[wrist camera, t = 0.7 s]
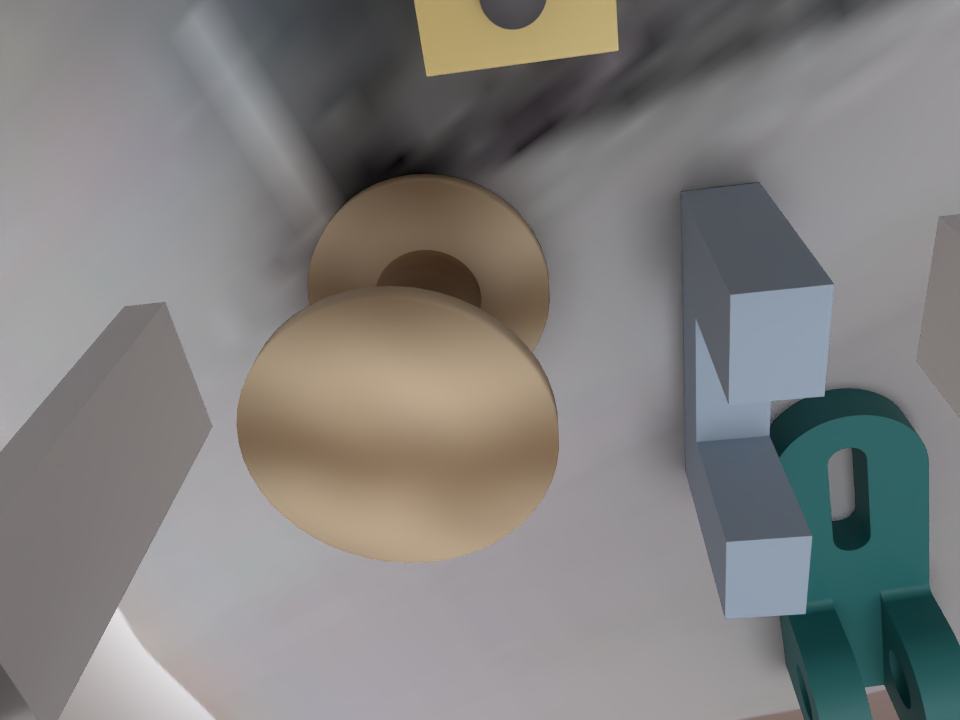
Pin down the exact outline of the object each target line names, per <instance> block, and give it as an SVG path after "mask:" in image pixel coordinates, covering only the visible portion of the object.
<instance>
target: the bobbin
mask: <svg viewBox="0 0 960 720" xmlns="http://www.w3.org/2000/svg"><path fill="white" fill-rule="evenodd" d="M308 297H309V302H310V305H309V306H307V307H306V308H304V309H302V310H301V311H299V312H298V313H296V314H295V315H293V316H292V317H290V318H289V319H288V320H287V321H286V322H285V323H284V324H282V325H281V326H280V327H279V328H278V329H277V330H276V331H275V332H274V334H273V335H272V336H271V337H270V338H269V339H268V341H267V342H266V343H265V345H264V347H263V348H262V350H261V351H260V353H259V355H258V356H257V358H256V360H255V362H254V364H253V366H252V368H251V369H250V371H249V373H248V375H247V378H246V380H245V383H244V385H243V388H242V390H241V394H240V399H239V403H238V408H237V432H238V440H239V445H240V449H241V452H242V456H243V459H244V461H245V464H246V466H247V468H248V471H249V473H250V475H251V477H252V478H253V480H254V482H255V483H256V485H257V486H258V488H259V490H260V491H261V492H262V493H263V495H264V496H265V497H266V498H267V500H268V501H269V502H270V503H271V504H272V505H273V506H274V507H275V508H276V509H277V510H278V511H279V512H280V513H281V514H282V515H283V516H284V517H285V518H286V519H288V520H289V521H290V522H291V523H293V524H294V525H295V526H297V527H298V528H299V529H301V530H303V531H304V532H306V533H307V534H309V535H311V536H312V537H314V538H316V539H318V540H320V541H322V542H324V543H326V544H328V545H330V546H332V547H335V548H337V549H340V550H343V551H345V552H348V553H351V554H355V555H358V556H362V557H366V558H370V559H376V560H382V561H390V562H403V563H415V562H432V561H440V560H446V559H450V558H455V557H459V556H463V555H466V554H469V553H472V552H475V551H478V550H480V549H482V548H484V547H487V546H489V545H491V544H493V543H495V542H497V541H498V540H500V539H502V538H503V537H505V536H506V535H508V534H510V533H511V532H512V531H513V530H515V529H516V528H517V527H518V526H519V525H521V524H522V523H523V522H524V521H525V520H526V519H527V518H528V517H529V516H530V515H531V514H532V512H533V511H534V510H535V509H536V508H537V506H538V505H539V503H540V502H541V500H542V499H543V498H544V496H545V494H546V492H547V490H548V488H549V486H550V484H551V482H552V479H553V476H554V472H555V469H556V466H557V459H558V452H559V433H558V417H557V409H556V403H555V398H554V394H553V391H552V389H551V386H550V383H549V380H548V378H547V376H546V374H545V372H544V370H543V368H542V367H541V365H540V363H539V361H538V360H537V359H536V357H535V356H534V354H533V353H532V351H533V350H534V348H535V347H536V345H537V343H538V342H539V340H540V337H541V335H542V333H543V330H544V328H545V324H546V320H547V316H548V310H549V301H550V299H549V277H548V271H547V265H546V261H545V258H544V255H543V252H542V249H541V246H540V244H539V242H538V240H537V238H536V236H535V234H534V233H533V231H532V230H531V228H530V227H529V225H528V224H527V223H526V221H525V220H524V219H523V218H522V217H521V216H520V215H519V213H518V212H517V211H516V210H515V209H514V208H513V207H511V206H510V205H509V204H508V203H507V202H505V201H504V200H503V199H502V198H500V197H499V196H497V195H495V194H494V193H492V192H491V191H489V190H487V189H485V188H483V187H481V186H479V185H477V184H475V183H472V182H469V181H466V180H463V179H460V178H455V177H450V176H445V175H437V174H412V175H405V176H400V177H394V178H391V179H388V180H385V181H382V182H379V183H376V184H374V185H372V186H370V187H368V188H366V189H364V190H363V191H361V192H360V193H358V194H357V195H355V196H354V197H352V198H351V199H350V200H349V201H348V202H346V203H345V204H344V205H343V206H342V207H341V208H340V209H339V210H338V211H337V213H336V214H335V215H334V216H333V217H332V219H331V220H330V222H329V223H328V225H327V227H326V228H325V230H324V232H323V233H322V235H321V237H320V239H319V241H318V243H317V246H316V248H315V250H314V253H313V255H312V259H311V263H310V267H309V275H308Z"/></svg>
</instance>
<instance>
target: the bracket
mask: <svg viewBox="0 0 960 720" xmlns="http://www.w3.org/2000/svg"><path fill="white" fill-rule="evenodd" d="M769 436H770V438H771V441H772V443H773V445H774V448H775V450H776V452H777V455H778V457H779V459H780V462H781V464H782V466H783V469H784V471H785V473H786V476H787V478H788V480H789V483H790V485H791V487H792V490H793V492H794V494H795V497H796V499H797V501H798V504H799V506H800V508H801V511H802V513H803V515H804V518H805V520H806V522H807V525H808V527H809V529H810V532H811V534H812V546H811V557H810V569H809V580H808V592H807V603H806V614H797V615H781V616H780V622H781V629H782V637H783V645H784V652H785V660H786V666H787V669H788V672H789V675H790V678H791V681H792V684H793V687H794V690H795V693H796V696H797V699H798V702H799V705H800V708H801V711H802V714H803V717H804V720H872V715H871V711H870V707H869V703H868V699H867V695H866V691H865V688H864V687H870V686H878V685H885V687H886V690H887V692H888V694H889V696H890V699H891V701H892V703H893V705H894V708H895V710H896V712H897V714H898V717H899V719H900V720H960V645H959V643H958V641H957V639H956V637H955V635H954V633H953V631H952V629H951V627H950V625H949V623H948V622H947V620H946V618H945V616H944V615H943V613H942V611H941V609H940V607H939V606H938V604H937V602H936V600H935V598H934V597H933V595H932V593H931V590H930V586H929V459H928V454H927V450H926V448H925V445H924V443H923V442H922V440H921V438H920V437H919V436H918V434H917V433H916V431H915V430H914V428H913V427H912V425H911V424H910V423H909V421H908V420H907V418H906V417H905V415H904V414H903V412H902V411H901V410H900V409H899V408H898V406H896V405H895V404H894V403H893V402H892V401H890V400H889V399H887V398H885V397H884V396H882V395H879V394H877V393H874V392H871V391H867V390H861V389H835V390H829V391H825V396H823V397H812V398H805V399H802V400H800V401H799V402H797V403H795V404H793V405H792V406H791V407H789V408H788V409H786V410H785V411H784V412H783V413H782V414H780V415H779V416H778V417H777V418H776V419H775V421H774V422H773V423H772V424H771V426H770V435H769ZM844 448H852V454H853V470H854V487H855V503H856V507H855V510H854V512H853V513H852V514H851V515H850V516H849V517H847V518H845V519H843V520H839V521H832V519H831V506H830V494H829V481H828V469H827V464H828V460H829V459H830V457H831V456H832V455H833V454H834V453H835V452H837V451H839V450H841V449H844Z"/></svg>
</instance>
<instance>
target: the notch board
mask: <svg viewBox="0 0 960 720" xmlns="http://www.w3.org/2000/svg"><path fill="white" fill-rule="evenodd" d="M681 214H682V276H683V339H684V401H685V463H686V475H687V478H688V482H689V486H690V490H691V493H692V497H693V501H694V504H695V508H696V512H697V516H698V519H699V523H700V527H701V531H702V534H703V538H704V542H705V546H706V549H707V553H708V557H709V561H710V564H711V568H712V572H713V575H714V579H715V583H716V587H717V590H718V594H719V598H720V602H721V605H722V609H723V613H724V617H725V619H732V618H748V617H764V616H781V615H797V614H806V603H807V592H808V580H809V569H810V557H811V546H812V534H811V532H810V529H809V527H808V525H807V522H806V520H805V518H804V515H803V513H802V511H801V508H800V506H799V504H798V501H797V499H796V497H795V494H794V492H793V490H792V487H791V485H790V483H789V480H788V478H787V476H786V473H785V471H784V469H783V466H782V464H781V462H780V459H779V457H778V455H777V452H776V450H775V448H774V445H773V443H772V441H771V438H770V436H769V435H770V414H771V401H778V400H789V399H801V398H812V397H823V396H825V384H826V373H827V361H828V350H829V338H830V327H831V315H832V304H833V292H834V283H833V282H832V281H831V279H830V278H829V276H828V275H827V274H826V272H825V271H824V270H823V268H822V267H821V266H820V264H819V263H818V261H817V260H816V259H815V257H814V256H813V255H812V253H811V252H810V251H809V249H808V248H807V246H806V245H805V244H804V242H803V241H802V240H801V238H800V237H799V236H798V234H797V233H796V231H795V230H794V229H793V227H792V226H791V225H790V223H789V222H788V221H787V219H786V218H785V216H784V215H783V214H782V212H781V211H780V210H779V208H778V207H777V205H776V204H775V203H774V201H773V200H772V199H771V197H770V196H769V195H768V193H767V192H766V190H765V189H764V188H763V186H762V185H761V184H760V183H751V184H742V185H734V186H725V187H717V188H708V189H699V190H691V191H682V192H681Z"/></svg>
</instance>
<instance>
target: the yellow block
mask: <svg viewBox="0 0 960 720" xmlns="http://www.w3.org/2000/svg"><path fill="white" fill-rule="evenodd" d="M414 3H415V9H416V15H417V21H418V27H419V33H420V39H421V45H422V51H423V57H424V63H425V69H426V75H427V77H428V76H435V75H442V74H450V73H457V72H465V71H472V70H479V69H487V68H494V67H502V66H509V65H516V64H524V63H531V62H539V61H546V60H553V59H561V58H568V57H575V56H583V55H590V54H598V53H605V52H612V51H619V48H618V28H617V9H616V0H414Z"/></svg>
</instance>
